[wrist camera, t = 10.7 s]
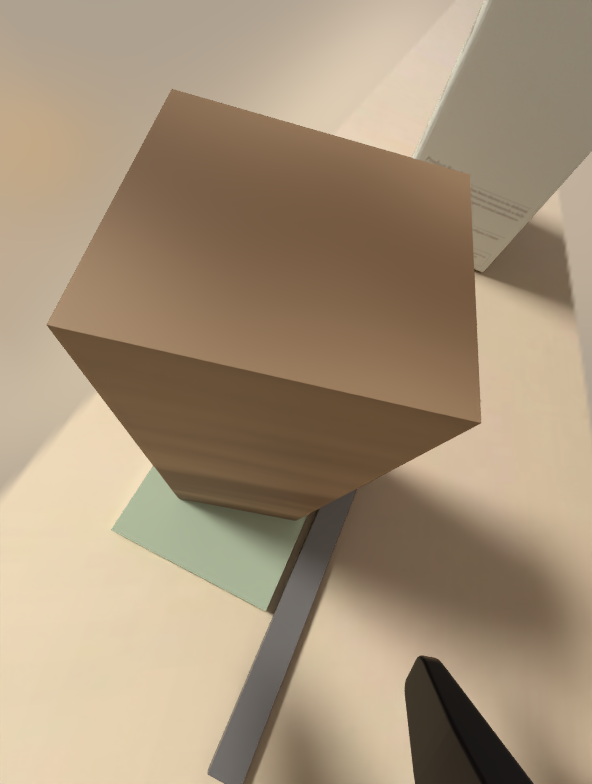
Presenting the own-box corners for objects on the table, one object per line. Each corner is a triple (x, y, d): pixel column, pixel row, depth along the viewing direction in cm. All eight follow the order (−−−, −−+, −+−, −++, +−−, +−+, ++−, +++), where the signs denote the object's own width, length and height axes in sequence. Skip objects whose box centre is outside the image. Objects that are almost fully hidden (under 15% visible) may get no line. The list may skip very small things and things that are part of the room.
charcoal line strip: (239, 786, 13) (239, 792, 13) (207, 769, 13) (207, 774, 13) (421, 319, 22) (423, 316, 22) (402, 310, 22) (405, 307, 22)
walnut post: (295, 520, 16) (480, 423, 5) (178, 498, 16) (47, 324, 4) (310, 422, 18) (469, 174, 6) (206, 400, 18) (171, 88, 6)
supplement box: (499, 206, 28) (690, -39, 16) (482, 277, 25) (704, 33, 13) (406, 165, 28) (532, -108, 16) (377, 230, 25) (509, -52, 13)
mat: (264, 610, 15) (265, 611, 15) (113, 530, 15) (110, 529, 15) (354, 404, 19) (356, 401, 19) (235, 344, 20) (235, 340, 19)
